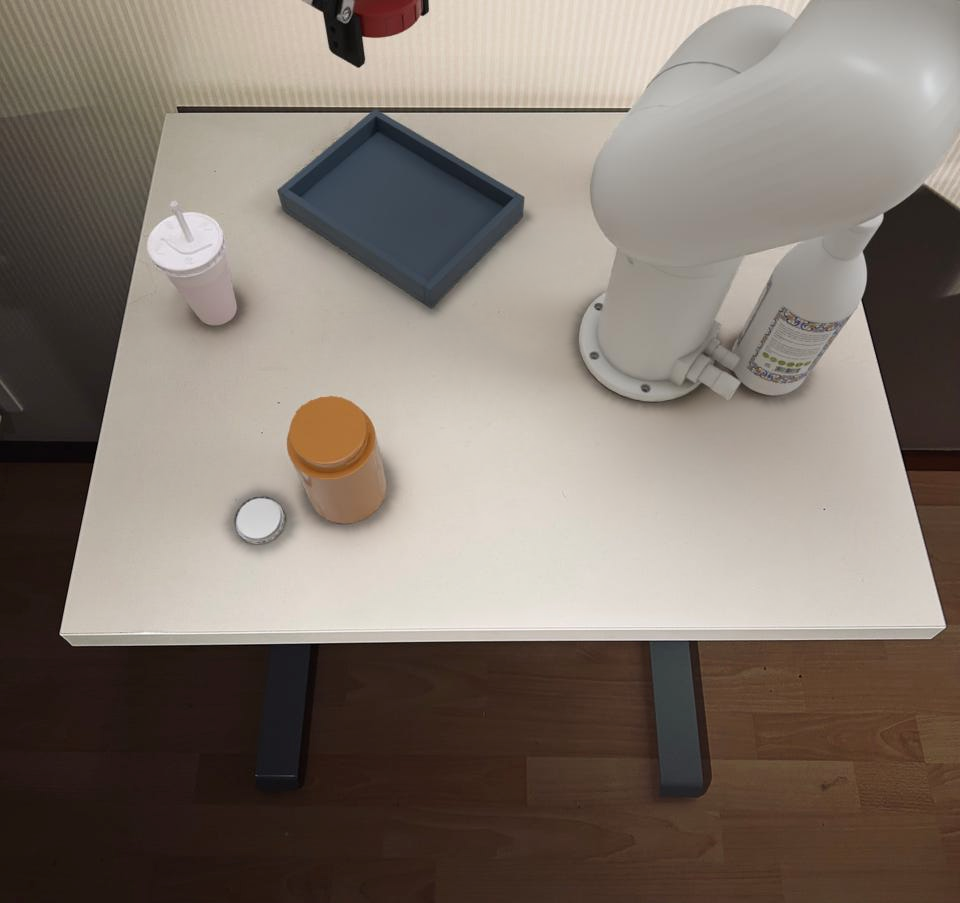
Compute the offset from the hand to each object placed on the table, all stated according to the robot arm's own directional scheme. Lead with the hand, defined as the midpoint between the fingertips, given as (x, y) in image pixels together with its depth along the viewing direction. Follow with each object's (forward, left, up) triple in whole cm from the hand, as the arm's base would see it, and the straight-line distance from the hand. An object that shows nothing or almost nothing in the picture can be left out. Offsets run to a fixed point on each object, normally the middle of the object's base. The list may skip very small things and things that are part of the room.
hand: (380, 31), depth 62 cm
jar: (-16, +25, -21) cm, 36 cm away
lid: (0, 0, +3) cm, 3 cm away
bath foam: (-38, -8, -21) cm, 44 cm away
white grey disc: (-12, +32, -21) cm, 40 cm away
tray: (0, -1, -21) cm, 21 cm away
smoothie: (+6, +19, -21) cm, 29 cm away
